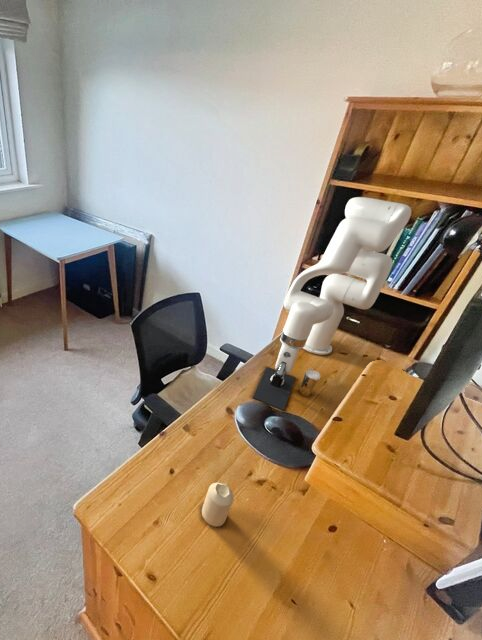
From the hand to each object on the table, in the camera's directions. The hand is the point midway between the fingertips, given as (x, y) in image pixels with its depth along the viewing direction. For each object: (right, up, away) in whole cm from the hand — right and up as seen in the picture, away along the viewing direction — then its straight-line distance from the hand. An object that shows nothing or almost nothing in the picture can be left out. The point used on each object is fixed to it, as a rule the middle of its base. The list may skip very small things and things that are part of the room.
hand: (277, 379), depth 122 cm
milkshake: (+8, -4, -2) cm, 9 cm away
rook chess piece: (0, -1, +1) cm, 1 cm away
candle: (-35, -25, -40) cm, 59 cm away
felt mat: (-2, -3, -1) cm, 3 cm away
